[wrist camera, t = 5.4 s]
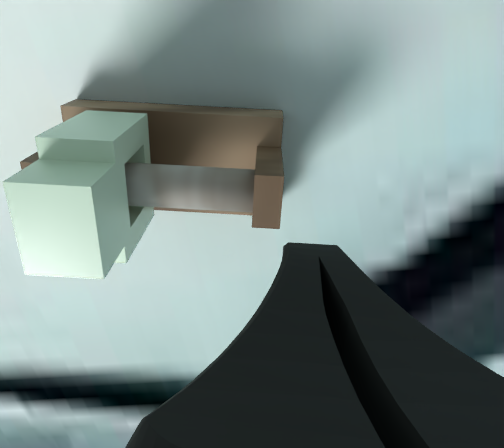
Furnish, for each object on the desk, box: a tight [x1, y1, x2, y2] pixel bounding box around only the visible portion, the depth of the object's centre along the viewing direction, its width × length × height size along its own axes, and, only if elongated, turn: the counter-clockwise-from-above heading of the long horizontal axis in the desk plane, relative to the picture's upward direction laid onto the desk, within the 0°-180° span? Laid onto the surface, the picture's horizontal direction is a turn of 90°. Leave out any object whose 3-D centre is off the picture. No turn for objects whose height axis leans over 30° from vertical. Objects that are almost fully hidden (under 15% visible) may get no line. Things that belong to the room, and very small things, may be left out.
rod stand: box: [20, 99, 284, 229], centre depth 17 cm, size 9×4×5 cm, turn 88°
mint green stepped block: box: [2, 110, 154, 279], centre depth 14 cm, size 2×4×6 cm, turn 178°
